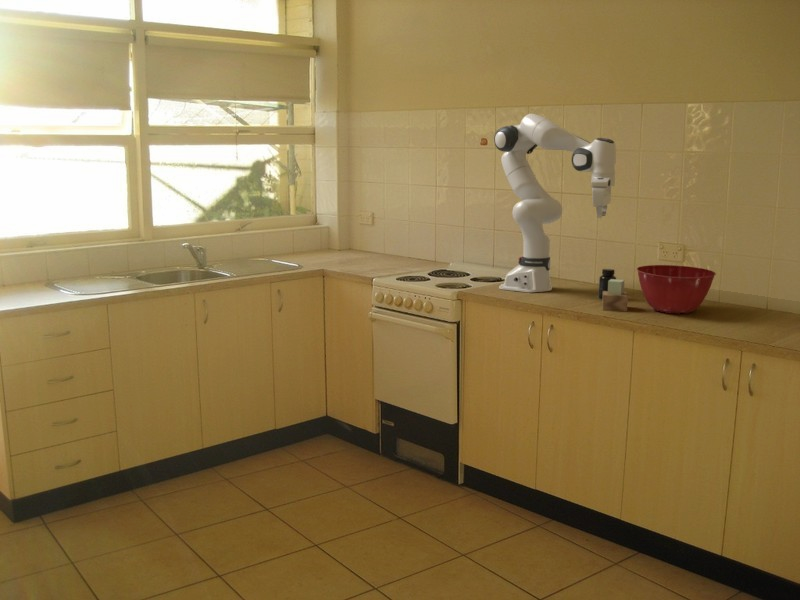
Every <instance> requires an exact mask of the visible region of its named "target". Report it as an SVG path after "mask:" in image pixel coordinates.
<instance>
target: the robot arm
mask: <svg viewBox="0 0 800 600" xmlns="http://www.w3.org/2000/svg"><path fill="white" fill-rule="evenodd" d="M493 137H494V138H493V140H494V141H493V142H494V146H495V148H496V149H498V151H500V152H503V154H502V155H501V157H500V158H501V159H500V161H501V166H502V169H503V172H504V175H505V177H506V179H507V182H508V183H509V186H510V187H511V189H512V193H514V195H515V196H516V197H518V198H520V199H521V200H520V201H518V202H516V203H515V204H514V206H513V208H512V212H511V213H512V218H513V221H515V223H516V224H517V225H518V227H519V229H520V231H521V236H522V240H523V241H522V243H523V247H522V248H523V249H522V250H523V251H522V253H523V254H522V255H520V257H519V258H518V259H517V261H518V265H516V266H515V267H513V268H512V269H511V270H509V271H508V272H507V273H506V275H505V278H504V283H501V284H500V285H499V287H498V289H499V290H505V291H512V292H522V293H538V292H539V293H540V292H541V293H542V292H549V291H552V290H553V287H552V284H551V283H552V282H551V279H550V278H551V276H550V269H551V256H550V242H551V240H550V238H549V236H548V235H547V234H546V233H545V231H544V226H543V225H546V224H551V223H554V222H556V221H558V220H559V219H560V218H561V217H562V214H563V207H562V204H561V202H560V201H559V200H558V199H555V198H554V197H553V196H551V195H550V194H549V193H548V192H547V191H546V190H545V189H544V187H543V186H542V185H541V184H540V183H539V181H538V179H537V178H536V175H535V173H534V172H533V169H532V168H531V165H530V164H529V162H528V159H527V154H529V155H530V154H532V153H533V152H534V150H535V149H536V148H537V147H540V148H542V149H546V150H549V151H550V150H551V151H566V152H572V155H571V165H572V167H573V169H574V170H575V171H578V172H584V173H586V172H591V177H590V178H591V179H590V180H591V181H590V187H591V188H592V189H591V190H592V191H591V192H592V193H591V196H592V198H591V199H592V206H593V207H595V208H596V209H595V210H596V218H597V219H602V218H603V217H605V216H606V215H607V209H608V205H609V204H611V200H612V199H611V198H612V186H613V187H615V184H616V171H615V165H616V162H617V148H616V143H615V141H614V140H612V139H610V138H605V137H598V138H595V139H594V140H593V141H592V142H589V141H588V140H586V139H583V138H581V137H580V136H578V135H576V134H573V133H572V132H571V131H569V130H567V129H565V128H563V127H561V126H560V125H558V124H557V123H555V122H553V121H551V119H548V118H547V117H544V116H541V115H539V114H537V113H528V114H526V115H525V116H523V118H522V119H521V121H520V123H519V124H514V125H506V126H503V127H500V128H499V129H497V130H496V132H495V134H494V135H493Z"/></svg>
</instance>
